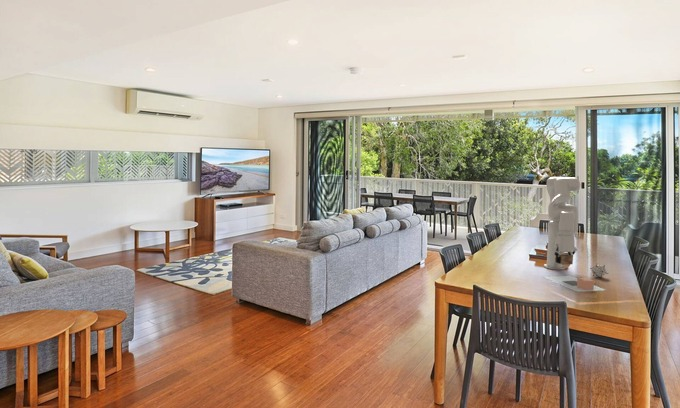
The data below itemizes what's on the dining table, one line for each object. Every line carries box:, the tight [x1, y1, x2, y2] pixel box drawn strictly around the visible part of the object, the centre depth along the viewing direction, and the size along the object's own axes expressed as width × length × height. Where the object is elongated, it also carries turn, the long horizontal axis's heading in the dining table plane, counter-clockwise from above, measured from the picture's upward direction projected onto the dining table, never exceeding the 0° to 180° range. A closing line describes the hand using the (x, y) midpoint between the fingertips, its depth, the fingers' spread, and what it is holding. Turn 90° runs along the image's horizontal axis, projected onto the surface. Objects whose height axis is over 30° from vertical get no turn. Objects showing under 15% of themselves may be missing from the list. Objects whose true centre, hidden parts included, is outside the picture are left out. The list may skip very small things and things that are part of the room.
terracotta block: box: [577, 277, 595, 290], centre depth 228 cm, size 6×6×5 cm
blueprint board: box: [543, 275, 606, 292], centre depth 237 cm, size 18×28×1 cm, turn 9°
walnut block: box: [555, 252, 574, 266], centre depth 246 cm, size 6×6×5 cm
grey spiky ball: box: [589, 263, 609, 279], centre depth 254 cm, size 9×8×10 cm
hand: (563, 262), depth 246 cm, fingers closed on walnut block, 6 cm apart
